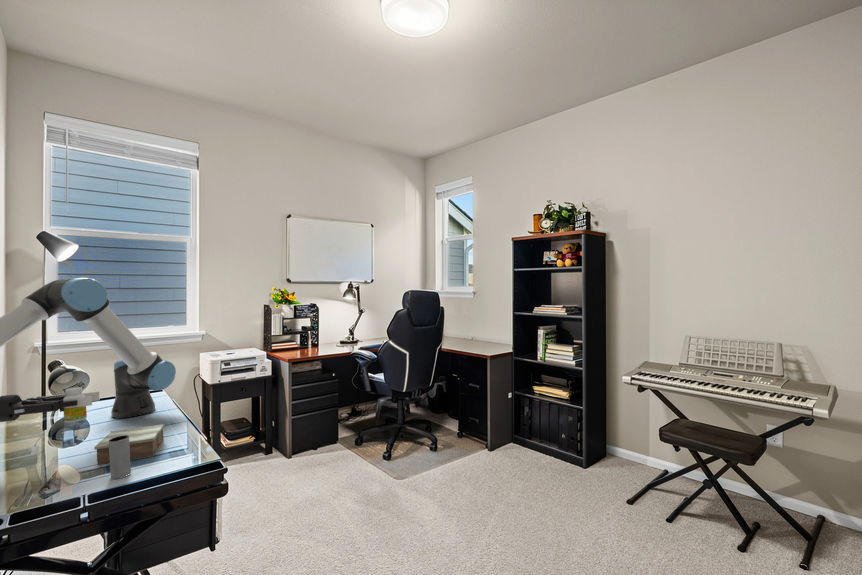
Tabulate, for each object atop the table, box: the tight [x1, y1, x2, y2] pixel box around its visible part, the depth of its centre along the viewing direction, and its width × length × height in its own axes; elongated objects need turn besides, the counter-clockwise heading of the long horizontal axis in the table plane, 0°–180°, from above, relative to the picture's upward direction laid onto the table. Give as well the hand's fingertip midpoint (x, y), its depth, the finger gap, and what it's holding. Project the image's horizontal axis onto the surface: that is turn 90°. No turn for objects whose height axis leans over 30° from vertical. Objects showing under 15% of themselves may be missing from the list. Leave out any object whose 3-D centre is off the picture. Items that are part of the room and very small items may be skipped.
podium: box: [93, 423, 165, 466], centre depth 136 cm, size 15×15×6 cm
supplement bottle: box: [63, 386, 88, 424], centre depth 133 cm, size 5×5×10 cm
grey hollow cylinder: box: [109, 435, 132, 480], centre depth 119 cm, size 4×4×10 cm
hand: (95, 398), depth 135 cm, fingers closed on supplement bottle, 5 cm apart
